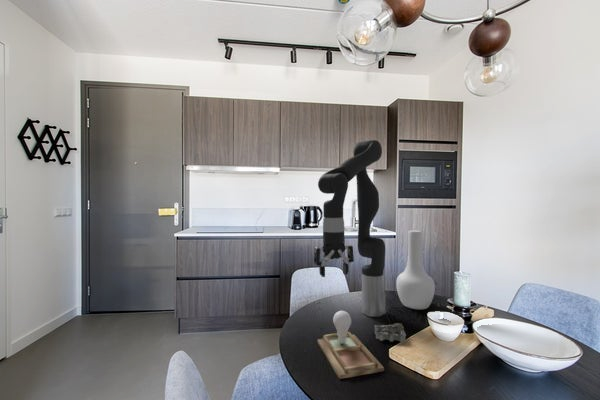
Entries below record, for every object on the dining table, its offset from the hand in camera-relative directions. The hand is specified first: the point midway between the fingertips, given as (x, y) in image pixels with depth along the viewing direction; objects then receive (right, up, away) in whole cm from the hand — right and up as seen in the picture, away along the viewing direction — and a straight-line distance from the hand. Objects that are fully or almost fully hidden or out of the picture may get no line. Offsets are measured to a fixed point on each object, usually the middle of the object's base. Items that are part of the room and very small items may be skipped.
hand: (334, 275), depth 97 cm
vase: (+42, -23, +32) cm, 58 cm away
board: (+3, -23, -9) cm, 25 cm away
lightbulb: (+2, -22, -4) cm, 23 cm away
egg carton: (+21, -24, +2) cm, 32 cm away
